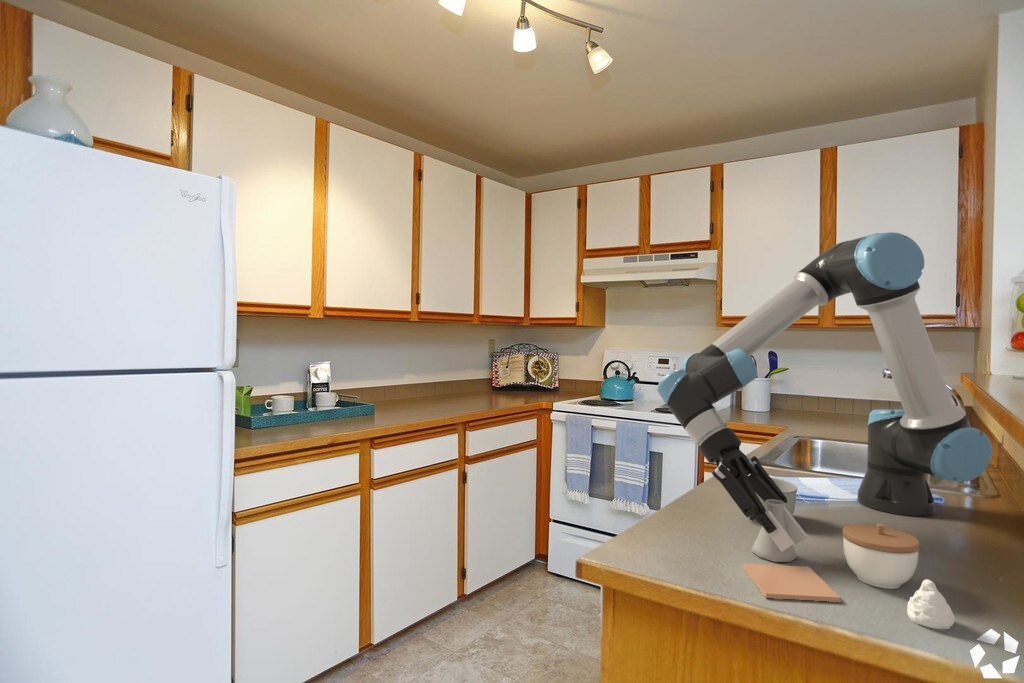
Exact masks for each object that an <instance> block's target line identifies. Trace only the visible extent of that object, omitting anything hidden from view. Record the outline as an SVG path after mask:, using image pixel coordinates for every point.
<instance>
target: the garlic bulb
mask: <svg viewBox="0 0 1024 683" xmlns="http://www.w3.org/2000/svg"><path fill="white" fill-rule="evenodd" d="M906 608H907V610H906V613H907V616H908V618H909V619H910V620H911V621H912V622H913V621H914V622H913V623H915V622H916V623H915V624H917V625H918V624H921V625H924V626H927V627H930V628H935V629H948V630H949V629H951V627H952V626H953V625H954V623H955V619H956V618H955V615H954V612H953V610H952V608H951V606H950V605H949V604H948V602H947V600H946V598H945V597H944V595H942V593H941V592H940V591H939V590H938V588H937V587H936V584H935V583H934V582H933V581H932V580H930V579H924V580H922V582H921V585H920V587H919V589H918V590H916V591H915V592H914V594H913V596H910V597H909V600H908V602H907V607H906ZM921 625H920V626H921ZM924 626H923V627H924ZM927 627H926V628H927ZM930 628H929V629H930ZM935 629H934V630H935Z"/></svg>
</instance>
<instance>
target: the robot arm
mask: <svg viewBox="0 0 1024 683" xmlns="http://www.w3.org/2000/svg"><path fill="white" fill-rule="evenodd" d="M924 256H925V255H924V253H923V251H922V248H921V247H920V246H919V244H918V243H917V242H916V241H915V240H914V239H912V238H911V237H909V236H908V235H906V234H905V235H904V234H903V233H900V232H899V233H898V232H894V231H893V232H892V231H887V232H880V233H878V232H876V233H872V234H869V235H868V234H867V235H866V236H862V237H857V238H855V239H854V238H853V239H850V240H846V241H842V242H839V243H837V244H834V245H833V246H830V248H829V247H828V248H827V249H826V250H825V251H824V252H822V253H821V254H820V255H818V256H817V257H816V258H815V259H813V260H812V261H810V263H808V264H807V265H805V266H804V267H803V268H802V269H800V270H799V271H797V273H796V274H794V277H793V281H792V282H791V283H789V284H787V286H785V287H784V288H783V289H781V290H780V291H779V292H778V293H776V294H775V295H774V296H772V297H771V298H770V299H768V300H767V301H766V302H764V303H763V304H762V305H760V306H759V307H758V308H757V309H755V310H754V311H753V312H751V313H750V314H749V315H748V316H746V317H744V318H743V319H742V320H741V321H739V322H738V323H737V324H735V325H734V326H732V327H731V328H730V329H729V330H727V331H726V332H725V333H724V334H723V335H721V336H720V337H719V338H717V339H716V340H714V341H713V342H712V343H711V344H709V345H708V346H706V347H705V348H704V349H702V350H701V351H699V352H695V353H692V354H689V355H688V356H686V358H685V359H684V360H683V362H682V364H681V368H679V369H676V370H673V371H670V372H669V373H667V374H666V375H664V376H663V377H662V378H661V380H660V381H659V382H658V385H657V388H656V389H657V392H658V394H659V396H660V397H661V399H662V401H663V402H664V403H665V407H666V408H668V409H669V411H670V412H671V413H672V414H673V415H674V417H675V418H676V420H677V421H678V423H679V424H680V425H681V426H682V428H683V429H684V430H685V432H686V433H687V434H688V436H689V438H690V439H691V440H692V441H693V443H694V444H695V445H696V446H698V447H699V451H700V453H701V454H702V455H703V457H704V458H705V460H706V461H707V462H708V463H710V464H715V465H716V468H715V469H713V471H712V472H711V474H712V476H713V477H714V478H715V479H716V480H717V481H719V483H720V484H721V485H722V486H723V488H724V489H725V491H727V494H728V495H729V496H730V497H731V498H732V499H731V500H733V502H734V503H735V504H736V505H737V507H738V508H739V510H740V511H741V512H742V513H743V515H744V516H745V517H746V518H748V519H749V520H750V521H751V522H752V521H755V520H757V521H758V522H759V524H760V525H761V527H762V526H763V528H764V529H765V530H766V532H767V533H768V534H769V535H770V537H771V538H772V540H773V541H774V542H775V544H776V545H777V546H778V548H779V549H780V550H781V552H782V551H784V550H786V549H787V548H789V547H790V546H792V545H793V546H796V545H799V544H800V543H801V542H802V541H804V540H806V539H807V538H809V536H808V534H807V533H806V532H805V531H804V529H803V528H802V527H801V525H800V524H799V523H798V522H797V520H796V519H795V518H794V516H793V515H791V514H790V513H789V511H788V510H787V509H786V507H785V506H784V509H783V514H784V520H785V525H786V528H787V531H788V534H789V535H788V534H787V532H786V531H785V530H784V528H783V527H782V526H781V525H780V523H779V522H778V521H777V519H776V518H775V517H774V515H773V514H772V513H771V511H767V512H766V510H765V508H764V506H763V504H762V503H761V501H760V499H759V498H758V496H759V497H760V498H761V499H762V500H763V501H764V502H765V500H768V499H776V500H780V501H783V502H785V503H787V498H786V497H785V495H784V494H783V493H782V491H781V490H780V489H779V488H778V486H777V485H776V484H775V482H774V481H773V480H772V479H771V477H772V476H771V475H769V473H768V472H767V471H766V469H765V468H764V467H763V466H762V463H761V462H760V460H759V459H758V457H757V456H756V455H753V456H752V457H751V458H750V457H748V456H747V455H746V454H745V453H743V451H742V450H740V446H741V445H742V441H741V439H740V438H739V436H737V434H736V432H735V431H734V430H733V429H732V428H731V427H729V424H728V422H727V421H726V420H725V419H724V417H723V416H722V415H721V414H720V413H719V411H718V410H717V409H716V407H715V406H714V404H716V403H717V402H719V401H721V400H723V399H724V398H726V397H728V396H730V395H731V394H733V393H735V392H737V391H739V390H740V389H742V388H744V387H745V388H746V386H747V385H749V384H750V383H752V382H753V381H754V380H755V379H756V378H757V377H758V368H757V366H756V364H755V362H754V360H753V359H752V357H751V356H752V355H754V353H756V352H758V351H759V350H761V349H762V348H763V347H764V346H765V345H766V344H768V343H769V342H770V341H772V340H773V339H774V338H776V337H777V336H778V335H780V334H781V333H783V332H784V331H785V330H786V329H788V328H789V327H790V326H792V325H793V324H794V323H796V322H797V321H798V320H799V319H801V318H802V317H804V316H805V315H807V313H810V312H811V311H812V310H813V309H814V308H816V307H817V306H818V307H819V306H820V307H823V306H825V305H827V304H828V303H830V302H831V301H832V300H835V299H836V298H839V297H841V296H844V295H847V294H852V296H853V299H854V302H855V303H856V304H855V305H856V307H858V308H861V309H862V310H864V311H866V312H867V313H868V316H869V319H870V321H871V323H872V327H873V329H874V332H875V335H876V338H877V340H878V343H879V346H880V348H881V351H882V352H881V353H882V354H883V357H884V359H885V362H886V363H885V364H886V365H887V369H888V371H889V372H890V376H891V378H892V382H893V384H894V387H895V390H896V392H897V395H898V398H899V402H900V404H901V406H902V409H879V408H878V409H873V410H871V411H870V412H869V415H868V421H867V425H866V426H867V454H866V456H867V464H866V471H865V473H864V475H863V478H862V480H861V483H860V485H859V488H858V490H857V501H858V503H860V504H861V505H863V506H865V507H867V508H871V509H873V510H876V511H881V512H885V513H890V514H896V515H902V516H919V517H921V516H922V517H923V516H930V515H933V514H935V512H936V509H935V506H936V502H935V499H934V497H933V493H932V490H931V488H930V485H929V482H928V477H927V475H931V476H933V477H936V478H938V479H940V480H944V481H951V482H954V483H965V482H970V481H973V480H975V479H977V478H978V477H980V476H981V475H982V474H983V473H984V472H985V471H986V470H987V468H988V465H990V463H991V461H992V458H993V446H992V442H991V439H990V438H989V436H987V434H986V433H984V432H983V431H981V430H980V429H978V428H976V427H971V423H970V421H969V419H968V416H967V413H966V411H965V409H964V408H962V407H960V406H959V405H955V404H954V402H953V401H952V398H951V395H950V392H949V390H948V387H947V384H946V381H945V378H944V376H943V373H942V370H941V367H940V365H939V361H938V359H937V356H936V352H935V351H934V348H933V345H932V342H931V339H930V336H929V334H928V332H927V329H926V326H925V323H924V320H923V318H922V315H921V312H920V309H919V307H918V304H917V300H916V295H917V294H918V292H920V290H921V286H920V283H919V279H920V278H921V276H922V275H923V270H924V269H925V257H924ZM755 492H756V493H757V494H758V496H757V494H756V493H755ZM747 508H748V509H747ZM765 512H766V513H765Z"/></svg>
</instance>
